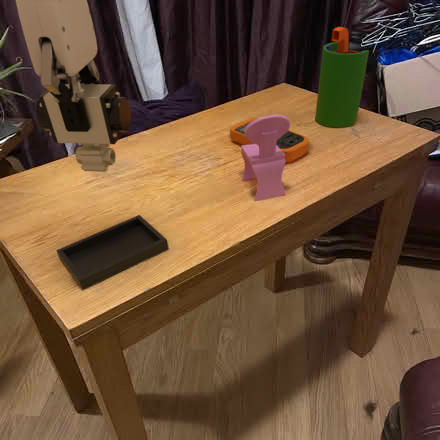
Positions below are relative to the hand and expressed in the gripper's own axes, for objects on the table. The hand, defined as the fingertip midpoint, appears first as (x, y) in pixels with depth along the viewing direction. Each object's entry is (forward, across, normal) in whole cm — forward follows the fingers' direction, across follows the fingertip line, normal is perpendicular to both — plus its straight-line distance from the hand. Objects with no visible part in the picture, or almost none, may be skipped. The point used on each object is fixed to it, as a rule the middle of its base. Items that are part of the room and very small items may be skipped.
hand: (86, 119), depth 59 cm
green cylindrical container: (+21, -51, +39) cm, 68 cm away
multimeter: (+21, -36, +24) cm, 48 cm away
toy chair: (+21, -19, +24) cm, 37 cm away
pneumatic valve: (+7, 0, 0) cm, 7 cm away
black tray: (+21, +3, 0) cm, 22 cm away
